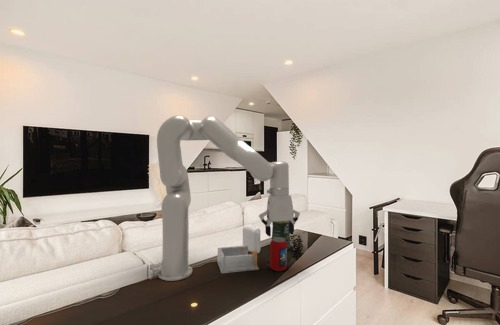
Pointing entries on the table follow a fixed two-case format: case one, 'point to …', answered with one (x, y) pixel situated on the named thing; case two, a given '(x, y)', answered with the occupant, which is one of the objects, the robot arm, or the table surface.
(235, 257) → the grey open box
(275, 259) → the beverage can
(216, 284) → the table surface
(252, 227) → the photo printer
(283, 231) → the coffee jar
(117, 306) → the table surface
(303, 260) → the table surface
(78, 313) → the table surface
